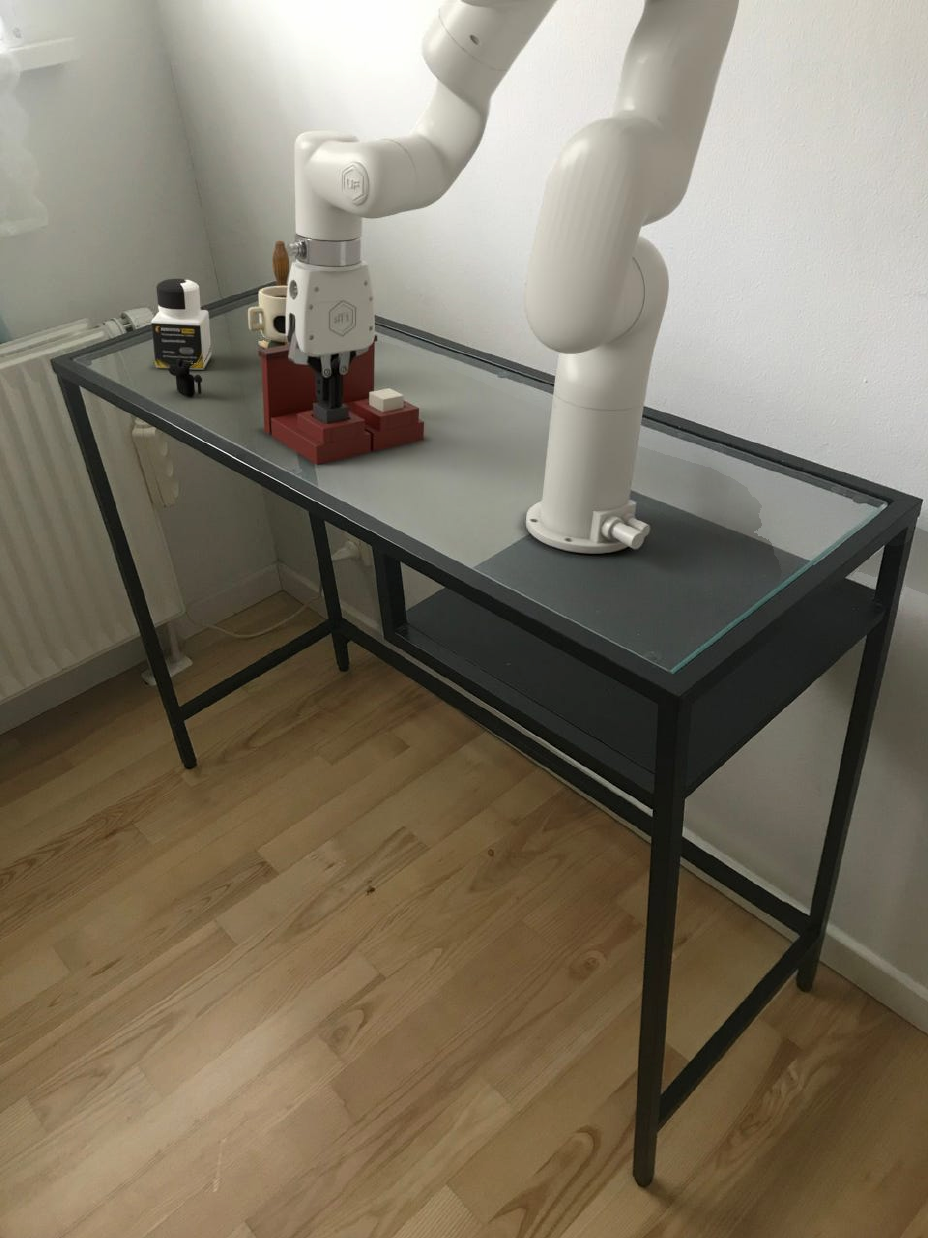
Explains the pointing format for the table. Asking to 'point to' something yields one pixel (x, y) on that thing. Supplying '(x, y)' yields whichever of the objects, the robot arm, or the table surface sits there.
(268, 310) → the character mug
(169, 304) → the medicine bottle
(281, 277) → the hand bell
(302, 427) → the red grey-inset block
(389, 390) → the ivory key
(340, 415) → the ebony key
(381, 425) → the red white-inset block
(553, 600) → the table surface
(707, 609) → the table surface
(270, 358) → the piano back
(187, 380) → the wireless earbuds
